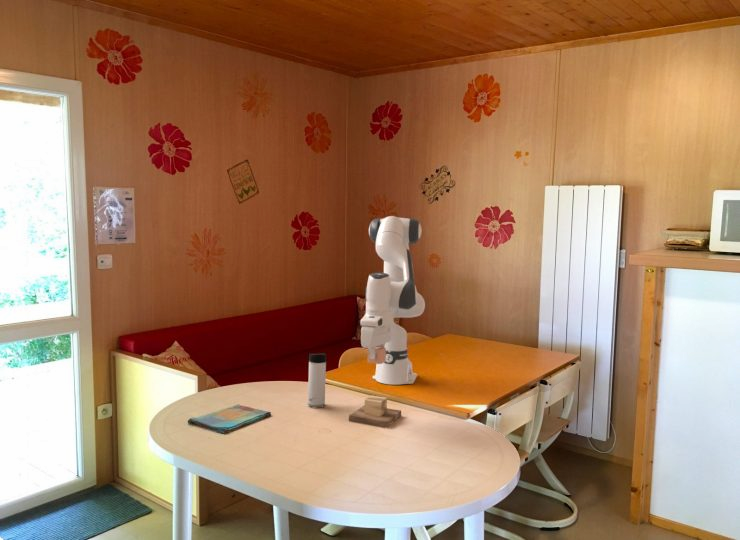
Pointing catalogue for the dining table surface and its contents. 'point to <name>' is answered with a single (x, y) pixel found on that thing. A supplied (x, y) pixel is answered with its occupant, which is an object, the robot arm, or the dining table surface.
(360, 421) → the base board
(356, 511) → the dining table surface
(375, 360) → the terracotta block
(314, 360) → the travel mug
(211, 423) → the dish towel
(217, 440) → the dining table surface
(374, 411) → the oak block
